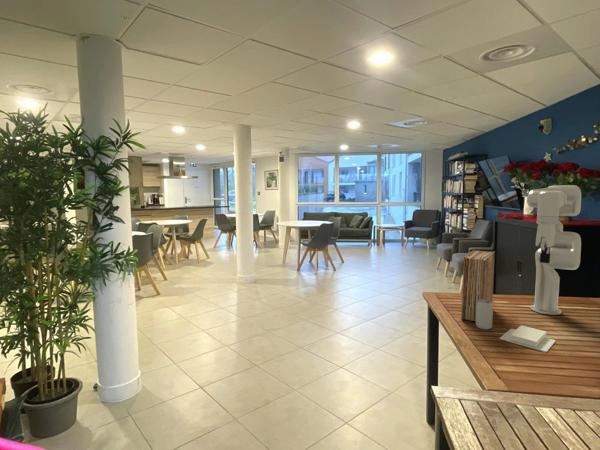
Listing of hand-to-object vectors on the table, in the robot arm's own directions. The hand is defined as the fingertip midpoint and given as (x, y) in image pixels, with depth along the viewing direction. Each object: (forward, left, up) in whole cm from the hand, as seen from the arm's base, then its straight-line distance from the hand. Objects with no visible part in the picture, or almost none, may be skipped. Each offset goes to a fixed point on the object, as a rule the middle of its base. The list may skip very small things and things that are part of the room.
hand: (544, 262), depth 149 cm
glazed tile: (+11, 0, -27) cm, 30 cm away
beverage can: (+18, -17, -29) cm, 38 cm away
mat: (+19, 0, -29) cm, 35 cm away
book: (+4, -25, -29) cm, 39 cm away
